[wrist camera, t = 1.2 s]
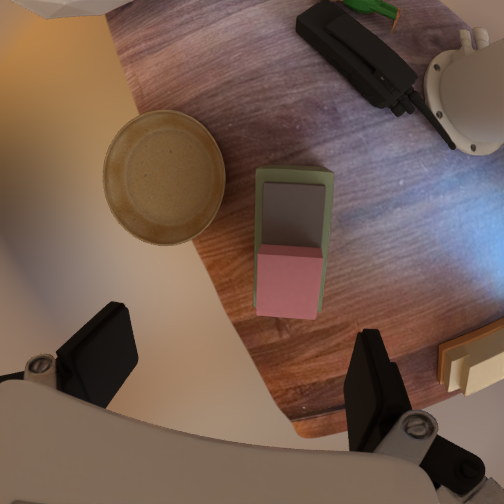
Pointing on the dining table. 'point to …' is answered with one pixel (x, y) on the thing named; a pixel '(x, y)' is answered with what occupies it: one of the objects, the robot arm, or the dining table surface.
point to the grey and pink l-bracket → (290, 250)
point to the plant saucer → (164, 177)
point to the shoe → (473, 359)
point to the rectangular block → (295, 176)
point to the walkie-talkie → (364, 61)
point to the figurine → (373, 8)
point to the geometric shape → (70, 7)
